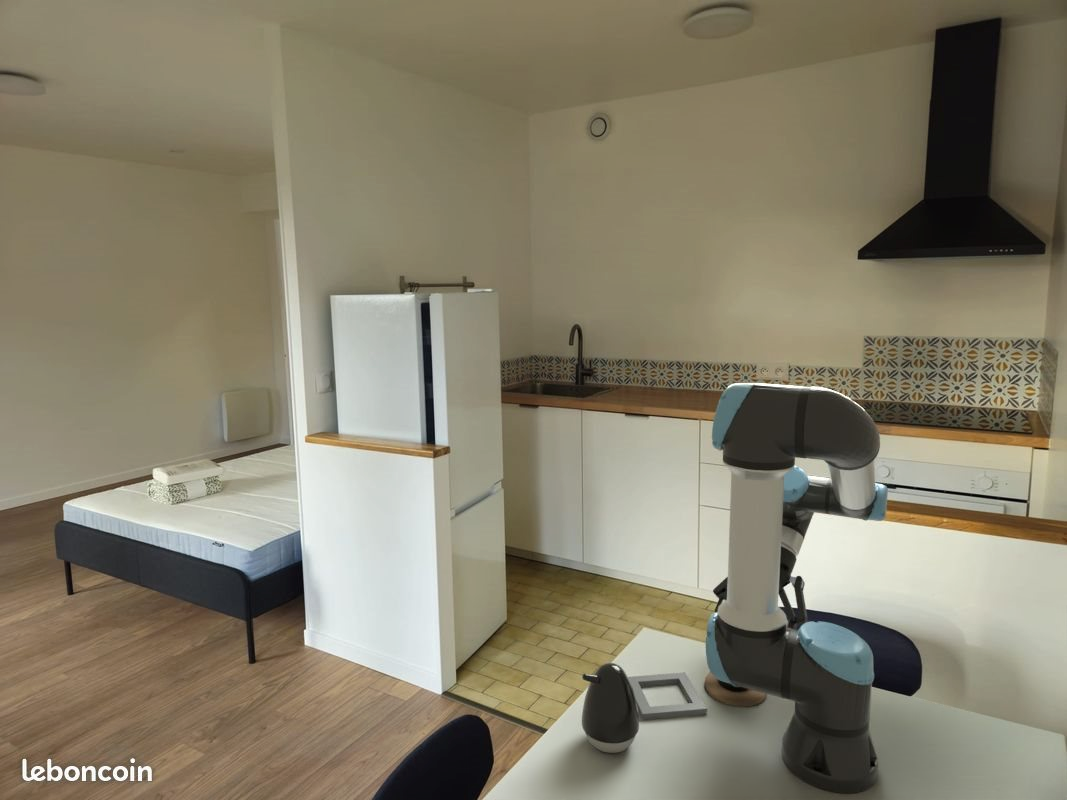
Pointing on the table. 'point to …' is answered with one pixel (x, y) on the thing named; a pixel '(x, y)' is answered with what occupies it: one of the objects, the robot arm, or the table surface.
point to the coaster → (732, 694)
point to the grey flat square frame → (667, 711)
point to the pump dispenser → (610, 709)
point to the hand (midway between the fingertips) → (745, 641)
